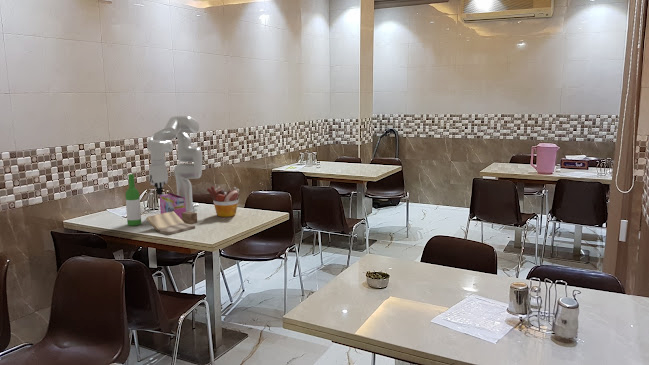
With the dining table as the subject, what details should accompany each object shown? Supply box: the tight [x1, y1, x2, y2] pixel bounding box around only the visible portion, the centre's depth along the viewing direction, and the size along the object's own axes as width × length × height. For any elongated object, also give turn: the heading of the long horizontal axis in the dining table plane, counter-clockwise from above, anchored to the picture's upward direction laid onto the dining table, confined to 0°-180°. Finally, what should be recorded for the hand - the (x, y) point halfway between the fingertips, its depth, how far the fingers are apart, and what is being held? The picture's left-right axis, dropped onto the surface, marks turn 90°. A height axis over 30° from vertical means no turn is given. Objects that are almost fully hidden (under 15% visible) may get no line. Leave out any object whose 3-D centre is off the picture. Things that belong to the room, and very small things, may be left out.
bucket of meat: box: [207, 185, 240, 218], centre depth 320 cm, size 20×16×20 cm
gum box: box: [159, 192, 186, 220], centre depth 317 cm, size 24×8×14 cm, turn 40°
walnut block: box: [182, 211, 198, 225], centre depth 304 cm, size 5×8×6 cm, turn 53°
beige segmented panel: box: [146, 211, 184, 233], centre depth 291 cm, size 18×12×2 cm
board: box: [158, 223, 196, 236], centre depth 286 cm, size 18×9×2 cm, turn 143°
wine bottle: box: [124, 173, 142, 227], centre depth 297 cm, size 8×8×30 cm
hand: (159, 194), depth 291 cm, fingers closed
